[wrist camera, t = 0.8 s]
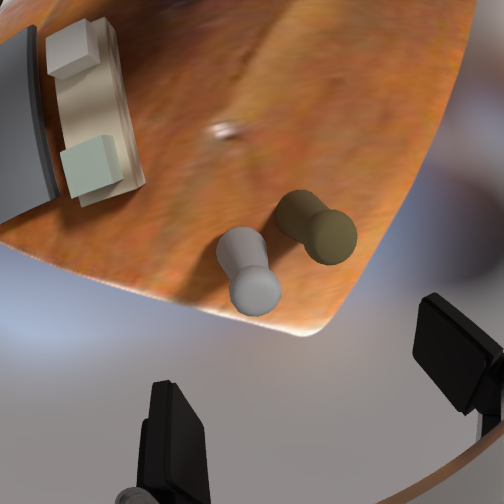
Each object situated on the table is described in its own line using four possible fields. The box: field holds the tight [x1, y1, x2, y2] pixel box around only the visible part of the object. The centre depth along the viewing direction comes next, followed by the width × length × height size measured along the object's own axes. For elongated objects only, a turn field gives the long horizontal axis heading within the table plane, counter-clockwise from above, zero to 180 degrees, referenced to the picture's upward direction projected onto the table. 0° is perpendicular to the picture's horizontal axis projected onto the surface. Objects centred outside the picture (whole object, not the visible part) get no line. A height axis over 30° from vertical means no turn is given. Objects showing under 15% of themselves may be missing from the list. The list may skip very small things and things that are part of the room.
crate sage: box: [60, 135, 124, 198], centre depth 23 cm, size 4×4×4 cm
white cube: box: [46, 18, 100, 80], centre depth 18 cm, size 4×4×4 cm
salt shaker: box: [216, 227, 281, 316], centre depth 29 cm, size 6×6×13 cm
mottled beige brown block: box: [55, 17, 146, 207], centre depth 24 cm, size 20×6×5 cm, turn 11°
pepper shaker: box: [276, 190, 357, 265], centre depth 30 cm, size 6×6×11 cm
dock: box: [0, 24, 61, 224], centre depth 22 cm, size 24×13×3 cm, turn 11°
